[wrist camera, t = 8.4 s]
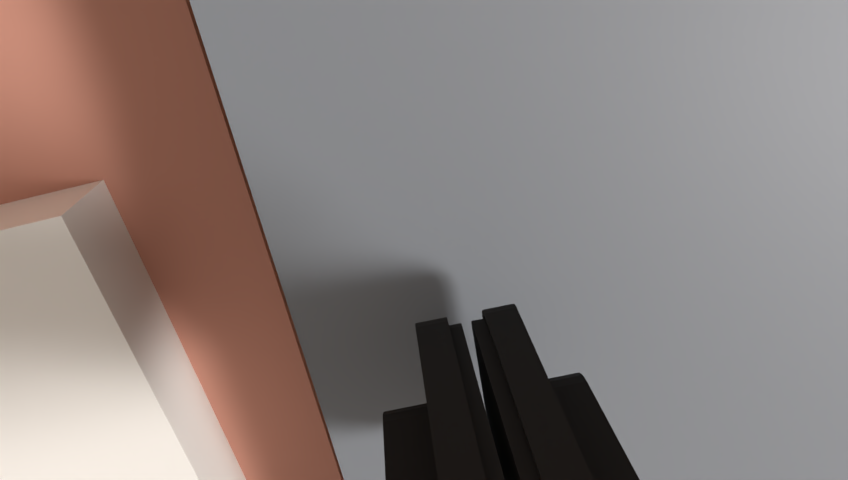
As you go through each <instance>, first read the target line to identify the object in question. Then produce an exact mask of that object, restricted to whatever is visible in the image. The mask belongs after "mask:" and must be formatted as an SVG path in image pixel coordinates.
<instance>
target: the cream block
mask: <svg viewBox="0 0 848 480" xmlns="http://www.w3.org/2000/svg"><path fill="white" fill-rule="evenodd" d="M0 480H246V478H245V476H244V474H243V472H242V470H241V468H240V466H239V463H238V461H237V459H236V457H235V455H234V453H233V451H232V449H231V447H230V445H229V442H228V440H227V438H226V436H225V434H224V432H223V430H222V428H221V426H220V424H219V421H218V419H217V417H216V415H215V413H214V411H213V409H212V407H211V405H210V403H209V400H208V398H207V396H206V394H205V392H204V390H203V388H202V386H201V384H200V381H199V379H198V377H197V375H196V373H195V371H194V369H193V367H192V365H191V363H190V360H189V358H188V356H187V354H186V352H185V350H184V348H183V346H182V344H181V342H180V339H179V337H178V335H177V333H176V331H175V329H174V327H173V325H172V323H171V321H170V318H169V316H168V314H167V312H166V310H165V308H164V306H163V304H162V302H161V300H160V297H159V295H158V293H157V291H156V289H155V287H154V285H153V283H152V281H151V278H150V276H149V274H148V272H147V270H146V268H145V266H144V264H143V262H142V260H141V257H140V255H139V253H138V251H137V249H136V247H135V245H134V243H133V241H132V239H131V236H130V234H129V232H128V230H127V228H126V226H125V224H124V222H123V220H122V218H121V215H120V213H119V211H118V209H117V207H116V205H115V203H114V201H113V199H112V197H111V194H110V192H109V190H108V188H107V186H106V184H105V182H104V180H100V181H96V182H92V183H88V184H84V185H80V186H76V187H71V188H67V189H63V190H59V191H55V192H51V193H47V194H42V195H38V196H34V197H30V198H26V199H22V200H18V201H14V202H9V203H5V204H1V205H0Z"/></svg>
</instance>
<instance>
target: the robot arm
mask: <svg viewBox="0 0 848 480" xmlns="http://www.w3.org/2000/svg"><path fill="white" fill-rule="evenodd" d="M482 318H483V319H478V320H473V321H471V324H472V331H473V337H474V343H475V349H476V355H477V361H478V367H479V373H480V379H481V385H482V392H483V398H484V403H483V400H482V396H481V392H480V389H479V385H478V381H477V378H476V374H475V371H474V367H473V363H472V360H471V356H470V352H469V349H468V345H467V342H466V338H465V334H464V331H463V327H462V324H461V323H458V324H453V325H449V324H448V320H447V317H444V318H439V319H434V320H429V321H424V322H419V323H415V328H416V334H417V341H418V348H419V355H420V361H421V368H422V375H423V382H424V388H425V395H426V402H427V403H425V404H420V405H415V406H410V407H405V408H400V409H395V410H390V411H385V412H383V438H384V459H385V480H640V479H639V478H638V476H637V474H636V472H635V470H634V468H633V466H632V465H631V463H630V461H629V459H628V457H627V455H626V453H625V451H624V450H623V448H622V446H621V444H620V442H619V440H618V438H617V436H616V435H615V433H614V431H613V429H612V427H611V425H610V423H609V422H608V420H607V418H606V416H605V414H604V412H603V410H602V408H601V407H600V405H599V403H598V401H597V399H596V397H595V395H594V394H593V392H592V390H591V388H590V386H589V384H588V382H587V381H586V379H585V377H584V376H583V375H582V374H581V373H580V372H579V373H574V374H569V375H564V376H559V377H554V378H548V376H547V374H546V372H545V370H544V367H543V365H542V363H541V361H540V358H539V356H538V354H537V352H536V349H535V347H534V345H533V343H532V340H531V338H530V336H529V334H528V332H527V329H526V327H525V325H524V323H523V320H522V318H521V316H520V314H519V311H518V309H517V307H516V305H515V304H509V305H504V306H499V307H494V308H489V309H484V310H482ZM484 404H485V407H484Z"/></svg>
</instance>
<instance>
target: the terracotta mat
mask: <svg viewBox="0 0 848 480" xmlns="http://www.w3.org/2000/svg"><path fill="white" fill-rule="evenodd" d="M100 180H104V182H105V184H106V186H107V188H108V190H109V192H110V194H111V197H112V199H113V201H114V203H115V205H116V207H117V209H118V211H119V213H120V215H121V218H122V220H123V222H124V224H125V226H126V228H127V230H128V232H129V234H130V236H131V239H132V241H133V243H134V245H135V247H136V249H137V251H138V253H139V255H140V257H141V260H142V262H143V264H144V266H145V268H146V270H147V272H148V274H149V276H150V278H151V281H152V283H153V285H154V287H155V289H156V291H157V293H158V295H159V297H160V300H161V302H162V304H163V306H164V308H165V310H166V312H167V314H168V316H169V318H170V321H171V323H172V325H173V327H174V329H175V331H176V333H177V335H178V337H179V339H180V342H181V344H182V346H183V348H184V350H185V352H186V354H187V356H188V358H189V360H190V363H191V365H192V367H193V369H194V371H195V373H196V375H197V377H198V379H199V381H200V384H201V386H202V388H203V390H204V392H205V394H206V396H207V398H208V400H209V403H210V405H211V407H212V409H213V411H214V413H215V415H216V417H217V419H218V421H219V424H220V426H221V428H222V430H223V432H224V434H225V436H226V438H227V440H228V442H229V445H230V447H231V449H232V451H233V453H234V455H235V457H236V459H237V461H238V463H239V466H240V468H241V470H242V472H243V474H244V476H245V478H246V480H344V478H343V475H342V472H341V469H340V466H339V463H338V460H337V456H336V453H335V450H334V447H333V444H332V441H331V438H330V435H329V432H328V429H327V425H326V422H325V419H324V416H323V413H322V410H321V407H320V404H319V401H318V398H317V394H316V391H315V388H314V385H313V382H312V379H311V376H310V373H309V370H308V367H307V363H306V360H305V357H304V354H303V351H302V348H301V345H300V342H299V339H298V336H297V332H296V329H295V326H294V323H293V320H292V317H291V314H290V311H289V308H288V305H287V301H286V298H285V295H284V292H283V289H282V286H281V283H280V280H279V277H278V274H277V271H276V267H275V264H274V261H273V258H272V255H271V252H270V249H269V246H268V243H267V240H266V236H265V233H264V230H263V227H262V224H261V221H260V218H259V215H258V212H257V209H256V205H255V202H254V199H253V196H252V193H251V190H250V187H249V184H248V181H247V178H246V174H245V171H244V168H243V165H242V162H241V159H240V156H239V153H238V150H237V147H236V143H235V140H234V137H233V134H232V131H231V128H230V125H229V122H228V119H227V116H226V112H225V109H224V106H223V103H222V100H221V97H220V94H219V91H218V88H217V85H216V81H215V78H214V75H213V72H212V69H211V66H210V63H209V60H208V57H207V54H206V50H205V47H204V44H203V41H202V38H201V35H200V32H199V29H198V26H197V23H196V20H195V16H194V13H193V10H192V7H191V4H190V1H189V0H0V205H1V204H5V203H9V202H14V201H18V200H22V199H26V198H30V197H34V196H38V195H42V194H47V193H51V192H55V191H59V190H63V189H67V188H71V187H76V186H80V185H84V184H88V183H92V182H96V181H100Z"/></svg>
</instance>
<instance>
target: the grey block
mask: <svg viewBox="0 0 848 480" xmlns="http://www.w3.org/2000/svg"><path fill="white" fill-rule="evenodd" d="M189 1H190V4H191V7H192V10H193V13H194V16H195V20H196V23H197V26H198V29H199V32H200V35H201V38H202V41H203V44H204V47H205V50H206V54H207V57H208V60H209V63H210V66H211V69H212V72H213V75H214V78H215V81H216V85H217V88H218V91H219V94H220V97H221V100H222V103H223V106H224V109H225V112H226V116H227V119H228V122H229V125H230V128H231V131H232V134H233V137H234V140H235V143H236V147H237V150H238V153H239V156H240V159H241V162H242V165H243V168H244V171H245V174H246V178H247V181H248V184H249V187H250V190H251V193H252V196H253V199H254V202H255V205H256V209H257V212H258V215H259V218H260V221H261V224H262V227H263V230H264V233H265V236H266V240H267V243H268V246H269V249H270V252H271V255H272V258H273V261H274V264H275V267H276V271H277V274H278V277H279V280H280V283H281V286H282V289H283V292H284V295H285V298H286V301H287V305H288V308H289V311H290V314H291V317H292V320H293V323H294V326H295V329H296V332H297V336H298V339H299V342H300V345H301V348H302V351H303V354H304V357H305V360H306V363H307V367H308V370H309V373H310V376H311V379H312V382H313V385H314V388H315V391H316V394H317V398H318V401H319V404H320V407H321V410H322V413H323V416H324V419H325V422H326V425H327V429H328V432H329V435H330V438H331V441H332V444H333V447H334V450H335V453H336V456H337V460H338V463H339V466H340V469H341V472H342V475H343V478H344V480H385V459H384V438H383V412H385V411H390V410H395V409H400V408H405V407H410V406H415V405H420V404H425V403H427V402H426V395H425V388H424V382H423V375H422V368H421V361H420V355H419V348H418V341H417V334H416V328H415V323H419V322H424V321H429V320H434V319H439V318H444V317H447V320H448V324H449V325H453V324H458V323H461V324H462V327H463V331H464V334H465V338H466V342H467V345H468V349H469V352H470V356H471V360H472V363H473V367H474V371H475V374H476V378H477V381H478V385H479V389H480V392H481V396H482V400H483V403H484V398H483V392H482V385H481V379H480V373H479V367H478V361H477V355H476V349H475V343H474V337H473V331H472V324H471V321H473V320H478V319H483V318H482V310H484V309H489V308H494V307H499V306H504V305H509V304H515V305H516V307H517V309H518V311H519V314H520V316H521V318H522V320H523V323H524V325H525V327H526V329H527V332H528V334H529V336H530V338H531V340H532V343H533V345H534V347H535V349H536V352H537V354H538V356H539V358H540V361H541V363H542V365H543V367H544V370H545V372H546V374H547V376H548V378H554V377H559V376H564V375H569V374H574V373H579V372H580V373H581V374H582V375H583V376H584V377H585V379H586V381H587V382H588V384H589V386H590V388H591V390H592V392H593V394H594V395H595V397H596V399H597V401H598V403H599V405H600V407H601V408H602V410H603V412H604V414H605V416H606V418H607V420H608V422H609V423H610V425H611V427H612V429H613V431H614V433H615V435H616V436H617V438H618V440H619V442H620V444H621V446H622V448H623V450H624V451H625V453H626V455H627V457H628V459H629V461H630V463H631V465H632V466H633V468H634V470H635V472H636V474H637V476H638V478H639V479H640V480H848V0H189ZM484 407H485V404H484Z"/></svg>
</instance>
